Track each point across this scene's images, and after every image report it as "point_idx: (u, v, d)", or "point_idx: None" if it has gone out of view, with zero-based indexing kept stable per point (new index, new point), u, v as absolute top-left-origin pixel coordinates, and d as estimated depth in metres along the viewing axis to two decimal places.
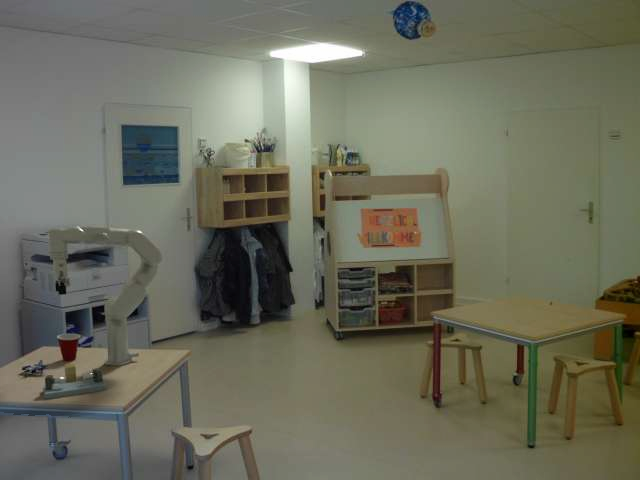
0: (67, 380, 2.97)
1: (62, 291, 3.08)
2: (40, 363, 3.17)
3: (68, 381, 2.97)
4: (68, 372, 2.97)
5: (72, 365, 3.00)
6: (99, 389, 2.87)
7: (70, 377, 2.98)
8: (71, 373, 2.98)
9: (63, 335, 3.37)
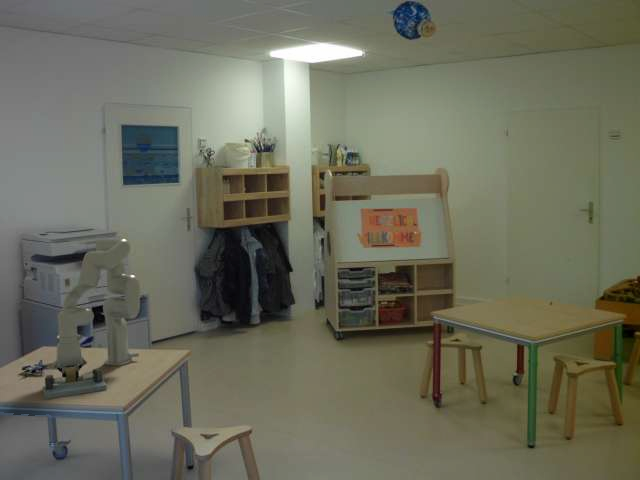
0: (67, 380, 2.97)
1: (78, 376, 3.02)
2: (40, 363, 3.17)
3: (68, 381, 2.98)
4: (68, 372, 2.97)
5: (72, 365, 3.00)
6: (99, 389, 2.87)
7: (70, 377, 2.98)
8: (71, 373, 2.98)
9: None
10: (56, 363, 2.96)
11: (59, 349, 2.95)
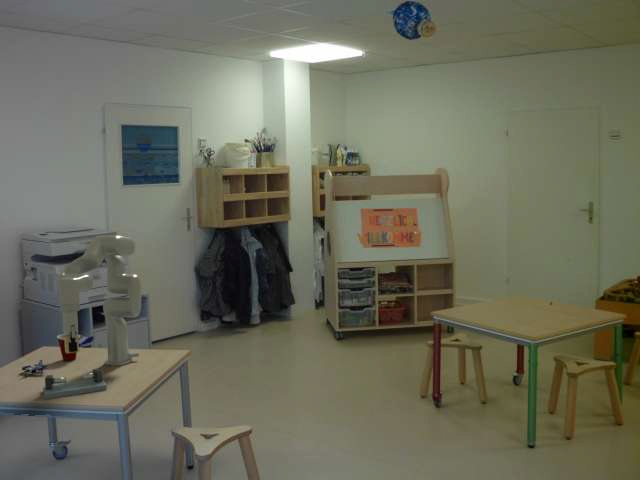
0: (78, 348, 2.86)
1: None
2: (40, 363, 3.17)
3: (78, 349, 2.86)
4: None
5: (70, 334, 2.86)
6: (99, 389, 2.87)
7: None
8: None
9: (63, 335, 3.37)
10: (74, 332, 2.81)
11: (76, 316, 2.82)
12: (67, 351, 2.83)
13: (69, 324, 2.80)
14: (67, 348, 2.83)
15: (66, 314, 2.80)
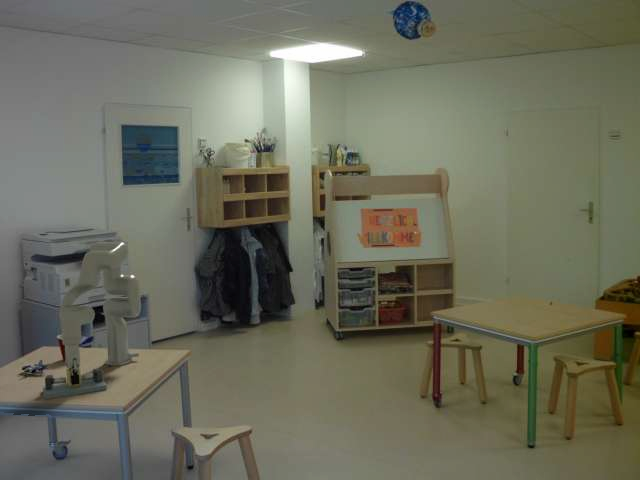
0: (80, 382, 2.87)
1: None
2: (40, 363, 3.17)
3: (80, 383, 2.88)
4: None
5: None
6: (99, 389, 2.87)
7: None
8: None
9: None
10: (76, 365, 2.81)
11: (78, 349, 2.83)
12: (69, 386, 2.85)
13: (71, 357, 2.81)
14: (69, 383, 2.85)
15: (68, 347, 2.81)
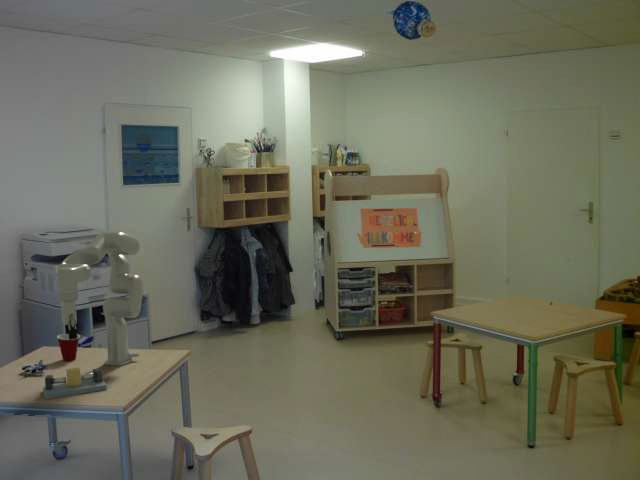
0: (80, 382, 2.87)
1: None
2: (40, 363, 3.17)
3: (80, 383, 2.88)
4: None
5: (72, 368, 2.88)
6: (99, 389, 2.87)
7: None
8: None
9: (63, 335, 3.37)
10: (73, 319, 2.84)
11: (75, 305, 2.86)
12: (69, 386, 2.85)
13: (68, 313, 2.84)
14: (69, 383, 2.85)
15: (65, 303, 2.84)
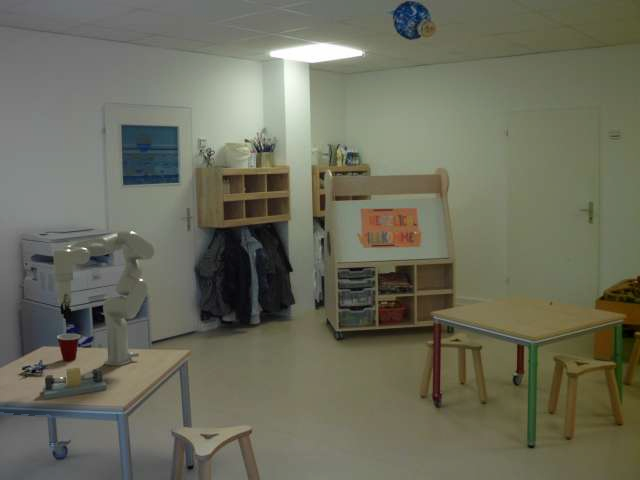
0: (80, 382, 2.87)
1: None
2: (40, 363, 3.17)
3: (80, 383, 2.88)
4: None
5: (72, 368, 2.88)
6: (99, 389, 2.87)
7: None
8: None
9: (63, 335, 3.37)
10: (68, 298, 2.94)
11: (70, 286, 2.97)
12: (69, 386, 2.85)
13: (63, 293, 2.95)
14: (69, 383, 2.85)
15: (60, 284, 2.95)
